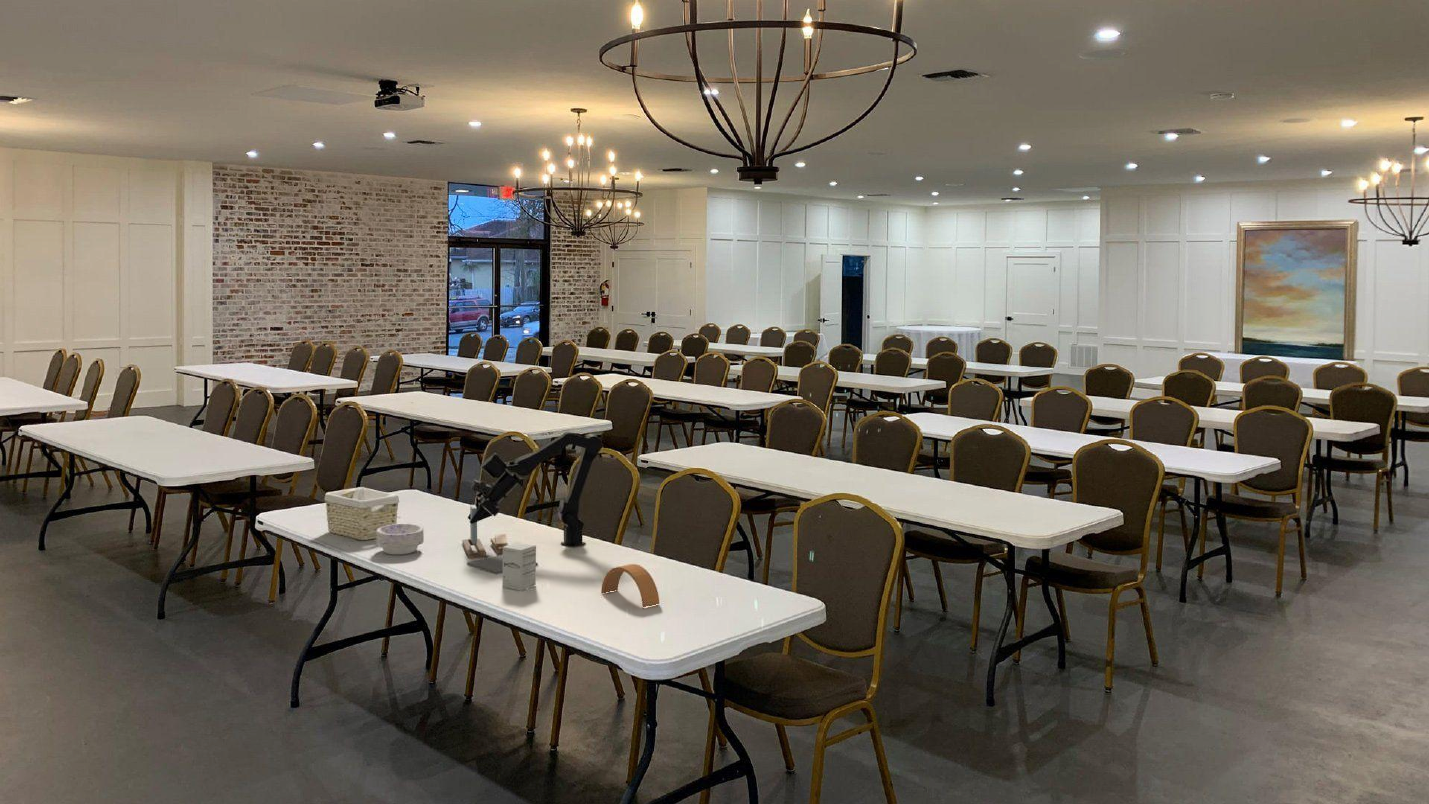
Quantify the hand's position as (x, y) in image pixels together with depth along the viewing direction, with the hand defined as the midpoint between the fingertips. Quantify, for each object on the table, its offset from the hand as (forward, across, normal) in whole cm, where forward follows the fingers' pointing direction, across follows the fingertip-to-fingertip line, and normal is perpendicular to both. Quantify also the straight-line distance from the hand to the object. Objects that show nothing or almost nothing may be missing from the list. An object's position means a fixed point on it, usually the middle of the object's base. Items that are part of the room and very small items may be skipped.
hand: (469, 520), depth 365 cm
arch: (-20, +68, +35) cm, 79 cm away
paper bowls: (+23, -4, -8) cm, 25 cm away
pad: (+1, +21, +13) cm, 25 cm away
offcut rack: (+3, 0, +11) cm, 12 cm away
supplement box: (0, +48, +14) cm, 50 cm away
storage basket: (+32, -34, -17) cm, 50 cm away
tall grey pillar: (+4, 0, +6) cm, 7 cm away
